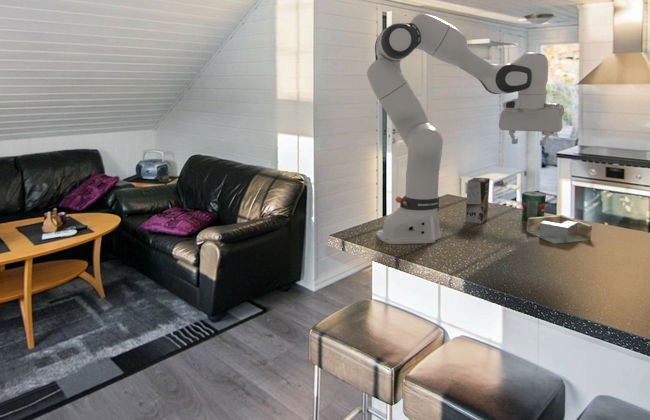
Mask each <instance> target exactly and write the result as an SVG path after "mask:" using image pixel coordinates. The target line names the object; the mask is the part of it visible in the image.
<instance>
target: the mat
mask: <svg viewBox="0 0 650 420" xmlns="http://www.w3.org/2000/svg"><path fill="white" fill-rule="evenodd" d="M539 231H540V230H538V231H529V232H528V233H529V234H531V235H534V236H535V237H537V238H540V239H542V240H545V241H546V242H549V243H552V244H553V245H554V244H555V245H556V244H565V243H573V242H574V243H576V242H586V241H587V242H588V241H589V240H588V239H585V238H583V237H580V236H578V235H577V236H576V237H575V238H573V239H571V240H569V241H568V242H562V241H557V240H552V239H547V238H541V237H539Z"/></svg>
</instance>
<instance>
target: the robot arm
mask: <svg viewBox="0 0 650 420" xmlns="http://www.w3.org/2000/svg"><path fill="white" fill-rule="evenodd" d="M415 49H416V50H420V51H423V52H425V53H427V55H430V56H432V57H433V58H435V59H437V60H440V62H444V63H447V64H450V65H452V66H455V67H458V68H460V69H462V70H463V71H465V72H466V73H467V74H469V75H471V76H473V77H474V78H476V80H478V81H479V82H480V84H481V85H482V86H483V88H484V89H485V90H486V91H487V92H488V93H490V94H492V95H500V94H501V95H502V94H503V95H504V94H507V95H508V94H512V93H516V92H517V98H514V99H512V100H507V101H505V102H503V104H502V108H503V109H502V110H501V113H500V115H499V120H498V128H499V129H500V131H508V134H509V137H510V139H511V144H512V145H514V144H515V145H517V144H518V141H519V138H516V136H515V133H516V132H517V131H521V132H538V133H539V132H541V133H543V136H544V137H543V139H540V140H539V146H546V145H547V140H548V138H549V137H550V136H551V133H560V132H561V131H562V130H563V116H564V113H565V108H564V106H563V105H562V104H560V103H557V102H556V103H550V102H549V103H547V88H546V87H547V83H548V80H549V78H548V77H549V61H548V60H549V59H548V57H547V56H546V55H545V54H542V53H538V52H525V53H523V54H522V55H521V56H519V57H517V58H516V59H514V60H512V61H509V62H507V63H504V64H500V63H499V64H498V63H491V62H488V61H487V60H485V59H484V58H482V57H481V56H479V55H477V54H476V53H475V52H473V51H471V50H470V48H469V46H468V40H467V37H466V35H465V34H464V33H462V32H461V31H460V30H459V29H458V28H456V27H455V26H454V25H452V24H451V23H448V22H447V21H445V20H443V19H441V18H438V17H437V16H434V15H432V14H428V13H426V12H425V13H424V12H423V13H419V14H417V15H416V16H415V17H413V18H412V20H411V21H410V22H406V23H405V22H404V23H403V22H402V23H400V22H397V23H394V24H391V25H389V26H388V27H386V28H384V29H383V30H382V31H381V32H380V34H379V35H377V38H376V40H375V46H374V53H375V54H374V55H375V60H374V61H373V62H372V63H371V64H370V65H369V67H368V68H367V72H366V76H367V79H368V81H369V84H370V87H371V88H372V91H373V93H374V95H375V96H376V98H377V100H378V102H379V103H380V105H381V106H382V108H383V110H384V111H385V113H386V114H387V116H388V118H389V119H390V121H391V122H392V124H393V126H394V128H395V129H396V131H397V132H398V134H399V135H400V137H401V139H402V140H403V143H404V145H405V146H406V147H407V162H406V172H405V195H404V196H403V197H400V196H396V197H395V199H394V200H395V201H396V203H399V205H400V206H399V207H398V208H396V209H395V210H394V211H393V212H392V213H390V214H388V216H386V217H385V218H384V220H383V225H382V229H380V230H378V231H376V235H375V236H376V238H377V239H378V240H380V241H381V242H383V243H386V244H389V245H404V244H405V245H407V244H434V243H435V242H436V241H437V240H439V239H441V237H442V233H441V228H440V222H439V211H440V196H439V175H440V168H441V161H442V154H443V145H444V139H443V136H442V132H440V130H439V129H438V128H436V127H435V126H433V124H432V123H431V120H430V119H429V117H428V115H427V114H426V111H425V110H424V108H423V106H422V104H421V102H420V100H419V98H418V97H417V95H416V92H415V91H414V90H413V88H412V87H411V85H410V83H409V82H408V80H407V79H406V77H405V75H404V74H403V73H402V69H401V61H402V60H404V59H405V58H406V57H408V56H409V55H410V54H412V52H413V51H415Z"/></svg>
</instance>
